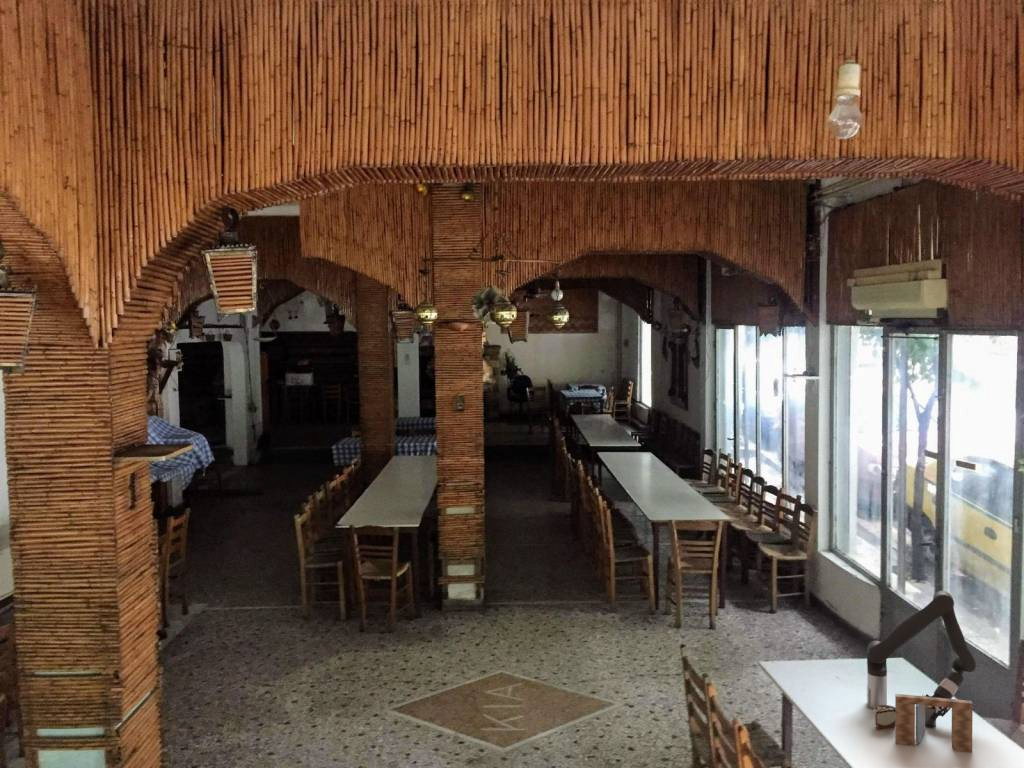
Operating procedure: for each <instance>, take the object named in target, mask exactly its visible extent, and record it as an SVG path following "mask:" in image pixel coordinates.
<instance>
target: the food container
mask: <svg viewBox="0 0 1024 768" xmlns="http://www.w3.org/2000/svg"><path fill="white" fill-rule="evenodd" d="M872 713H873V715H874V720H875V729H876V730H877V732H879V731H886V730H894V729H895V706H892V705H889V704H887V705H877V706H875V707H874V708H873V710H872Z"/></svg>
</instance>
